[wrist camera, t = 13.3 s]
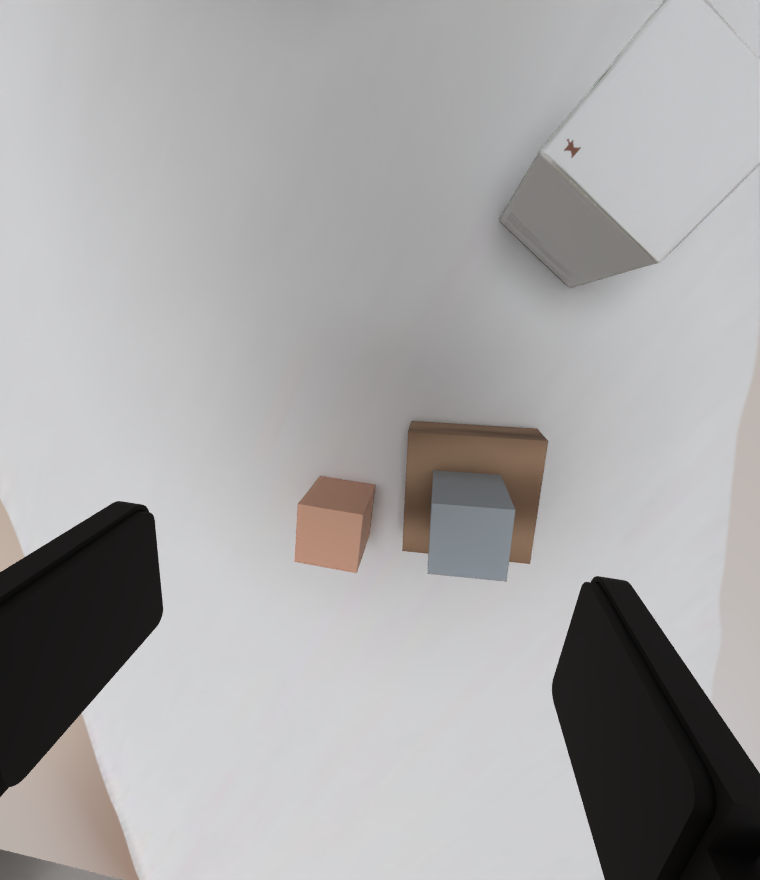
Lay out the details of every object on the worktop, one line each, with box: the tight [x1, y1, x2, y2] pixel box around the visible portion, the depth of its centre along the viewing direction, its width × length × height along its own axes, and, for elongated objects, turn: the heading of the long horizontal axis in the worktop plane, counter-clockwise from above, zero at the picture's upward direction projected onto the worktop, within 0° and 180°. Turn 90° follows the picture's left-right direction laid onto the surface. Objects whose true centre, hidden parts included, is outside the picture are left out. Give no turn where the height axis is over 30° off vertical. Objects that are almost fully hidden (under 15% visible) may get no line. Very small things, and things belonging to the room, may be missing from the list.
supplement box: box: [499, 0, 760, 288], centre depth 23 cm, size 7×7×13 cm
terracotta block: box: [295, 476, 375, 573], centre depth 34 cm, size 5×5×6 cm
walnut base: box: [402, 421, 548, 564], centre depth 33 cm, size 10×10×4 cm
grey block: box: [428, 470, 515, 581], centre depth 29 cm, size 5×5×6 cm
